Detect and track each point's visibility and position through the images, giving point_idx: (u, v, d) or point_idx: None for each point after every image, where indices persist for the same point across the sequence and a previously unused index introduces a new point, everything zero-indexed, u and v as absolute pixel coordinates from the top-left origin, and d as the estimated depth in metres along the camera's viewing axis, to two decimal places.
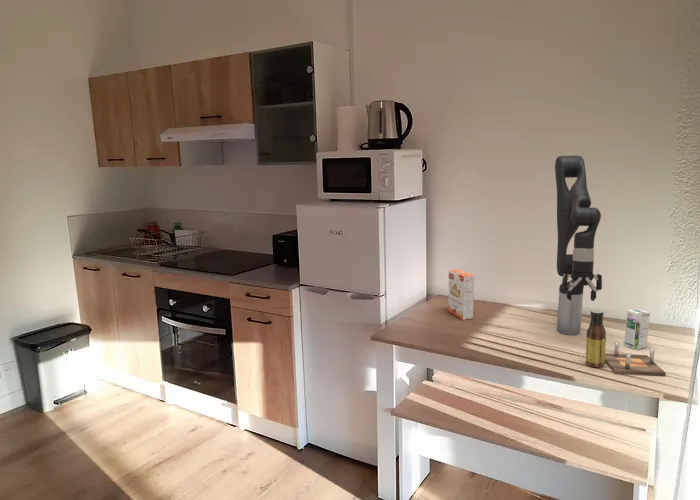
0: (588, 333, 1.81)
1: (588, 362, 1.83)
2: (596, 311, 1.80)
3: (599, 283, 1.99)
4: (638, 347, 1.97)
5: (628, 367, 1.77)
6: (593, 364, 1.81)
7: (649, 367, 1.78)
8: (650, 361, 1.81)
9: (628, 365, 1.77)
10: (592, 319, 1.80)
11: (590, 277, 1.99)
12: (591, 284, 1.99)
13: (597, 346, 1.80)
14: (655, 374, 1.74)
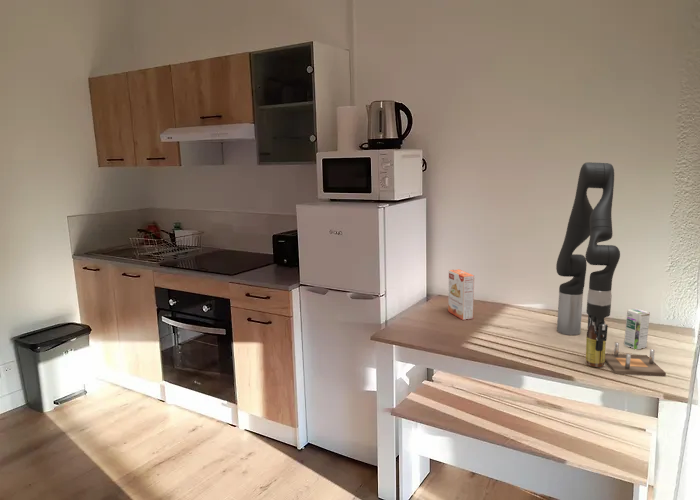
0: (588, 333, 1.81)
1: (588, 362, 1.83)
2: None
3: None
4: (638, 347, 1.97)
5: (628, 367, 1.77)
6: (593, 364, 1.81)
7: (649, 367, 1.78)
8: (650, 361, 1.81)
9: (628, 365, 1.77)
10: (592, 319, 1.80)
11: None
12: None
13: None
14: (655, 374, 1.74)
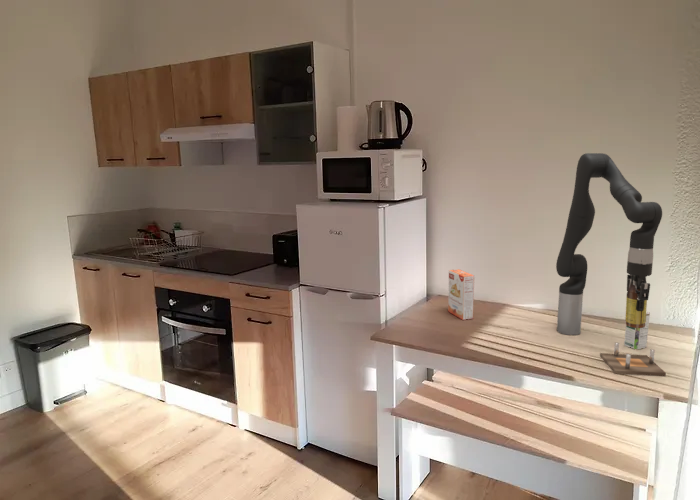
0: (629, 293, 1.78)
1: (628, 323, 1.79)
2: None
3: None
4: (638, 347, 1.97)
5: (628, 367, 1.77)
6: (634, 325, 1.78)
7: (649, 367, 1.78)
8: (650, 361, 1.81)
9: (628, 365, 1.77)
10: (633, 279, 1.77)
11: None
12: None
13: None
14: (655, 374, 1.74)
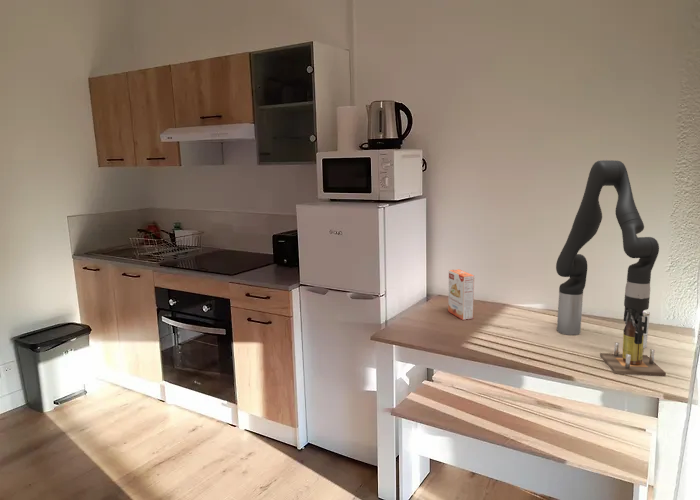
0: (625, 330, 1.80)
1: (625, 360, 1.81)
2: None
3: None
4: None
5: (628, 367, 1.77)
6: (631, 362, 1.80)
7: (649, 367, 1.78)
8: (650, 361, 1.81)
9: (628, 365, 1.77)
10: (630, 316, 1.79)
11: None
12: None
13: (635, 344, 1.78)
14: (655, 374, 1.74)
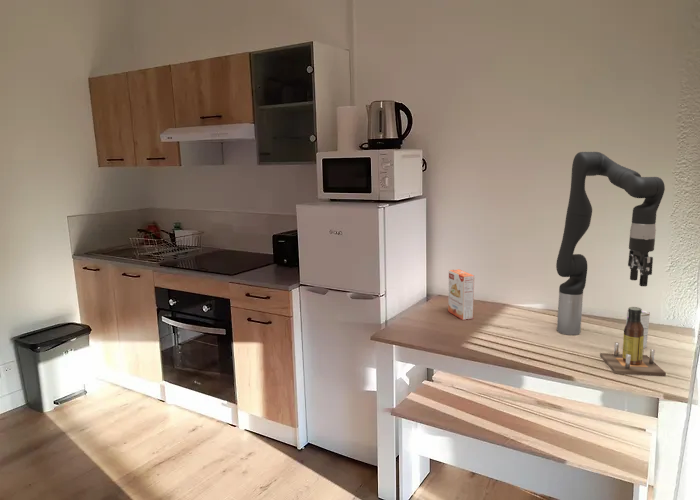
0: (626, 330, 1.80)
1: (625, 360, 1.81)
2: (634, 308, 1.78)
3: None
4: None
5: (628, 367, 1.77)
6: (631, 362, 1.80)
7: (649, 367, 1.78)
8: (650, 361, 1.81)
9: (628, 365, 1.77)
10: (630, 316, 1.79)
11: None
12: None
13: (635, 344, 1.78)
14: (655, 374, 1.74)
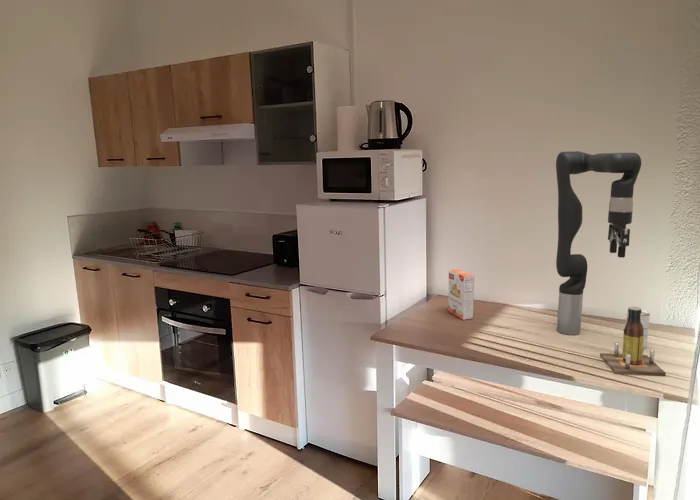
0: (626, 330, 1.80)
1: (625, 360, 1.81)
2: (634, 308, 1.79)
3: None
4: None
5: (628, 367, 1.77)
6: (631, 362, 1.80)
7: (649, 367, 1.78)
8: (650, 361, 1.81)
9: (628, 365, 1.77)
10: (630, 316, 1.79)
11: None
12: None
13: (635, 344, 1.78)
14: (655, 374, 1.74)
